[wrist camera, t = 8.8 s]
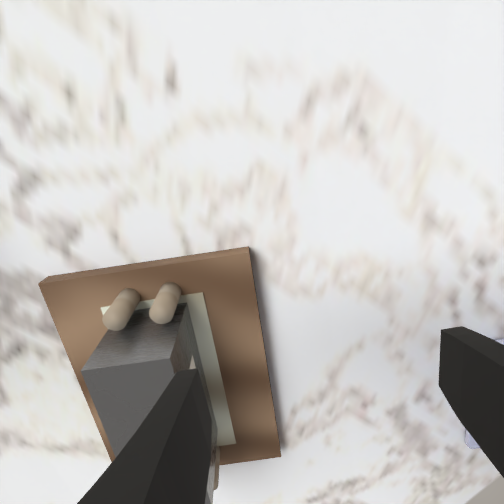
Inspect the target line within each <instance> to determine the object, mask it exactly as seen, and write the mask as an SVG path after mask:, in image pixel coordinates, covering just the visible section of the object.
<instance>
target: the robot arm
mask: <svg viewBox="0 0 504 504" xmlns="http://www.w3.org/2000/svg"><path fill="white" fill-rule="evenodd" d="M439 387H440V388H441V390H442V392H443V394H444V395H445V397H446V399H447V401H448V402H449V404H450V406H451V407H452V409H453V410H454V412H455V414H456V415H457V417H458V419H459V420H460V421H461V423H462V424H463V425H464V427H465V428H466V436H465V443H466V445H467V446H468V447H469V448H471V449H475V448H481V449H482V450H483V452H484V453H485V454H486V456H487V457H488V458H489V460H490V461H491V462H492V463H493V465H494V466H495V467H496V469H497V470H498V471H499V472H500V474H501V475H502V476H503V477H504V339H500V340H492V339H490V338H488V337H486V336H484V335H481V334H479V333H477V332H475V331H472V330H470V329H468V328H465V327H455V328H449V329H443V330H441V344H440V367H439ZM211 436H212V419H211V415H210V412H209V408H208V404H207V401H206V397H205V393H204V390H203V386H202V382H201V379H200V375H199V371H198V368H195V369H188V370H182V371H177V373H176V374H175V375H174V377H173V378H172V380H171V381H170V382H169V384H168V385H167V387H166V388H165V390H164V391H163V393H162V394H161V396H160V397H159V399H158V400H157V402H156V403H155V405H154V406H153V408H152V409H151V411H150V412H149V413H148V415H147V416H146V418H145V419H144V421H143V422H142V423H141V425H140V426H139V428H138V429H137V430H136V432H135V433H134V435H133V436H132V437H131V439H130V440H129V441H128V443H127V444H126V445H125V446H124V448H123V449H122V450H121V452H120V453H119V454H118V455H117V457H116V458H115V459H114V461H113V462H112V463H111V464H110V466H109V467H108V468H107V469H106V471H105V472H104V473H103V474H102V476H101V477H100V478H99V479H98V480H97V482H96V483H95V484H94V485H93V486H92V487H91V489H90V490H89V491H88V492H87V493H86V494H85V495H84V496H83V498H82V499H81V500H80V501H79V502H78V503H77V504H205V498H206V490H207V483H208V475H209V468H210V459H211Z"/></svg>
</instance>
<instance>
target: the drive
mask: <svg viewBox="0 0 504 504" xmlns="http://www.w3.org/2000/svg"><path fill="white" fill-rule="evenodd" d="M149 310H150V308H145V309H139V310H135V311H134V312H133V314H132V316H131V317H130V319H129V321H128V322H127V324H126V326H125V327H124V328H123V329H122V330H119V331H113V330H110V329H108V330H107V332H106V333H105V335H104V336H103V338H102V339H101V341H100V342H99V344H98V345H97V347H96V348H95V350H94V351H93V353H92V354H91V356H90V357H89V359H88V360H87V362H86V363H85V365H84V366H83V368H82V369H81V373H82V376H83V378H84V381H85V383H86V386H87V388H88V391H89V393H90V395H91V398H92V400H93V403H94V405H95V408H96V410H97V413H98V415H99V418H100V420H101V423H102V425H103V428H104V430H105V433H106V435H107V438H108V440H109V442H110V445H111V447H112V450H113V452H114V455H115V457H117V455H118V454H119V453H120V452H121V450H122V449H123V448H124V446H125V445H126V444H127V443H128V441H129V440H130V439H131V437H132V436H133V435H134V433H135V432H136V430H137V429H138V428H139V426H140V425H141V423H142V422H143V421H144V419H145V418H146V416H147V415H148V413H149V412H150V411H151V409H152V408H153V406H154V405H155V403H156V402H157V400H158V399H159V397H160V396H161V394H162V393H163V391H164V390H165V388H166V387H167V385H168V384H169V382H170V381H171V380H172V378H173V377H174V375H175V374H176V373H177V371H182V370H188V369H195V368H198V371H199V375H200V379H201V382H202V386H203V390H204V393H205V397H206V401H207V404H208V408H209V412H210V415H211V419H212V436H211V459H210V468H209V475H208V483H207V490H206V498H205V504H212V503H213V489H214V475H215V461H216V448H217V434H218V428H217V424H216V420H215V416H214V412H213V408H212V403H211V399H210V395H209V391H208V387H207V383H206V379H205V374H204V370H203V366H202V362H201V358H200V354H199V350H198V346H197V341H196V337H195V333H194V329H193V325H192V321H191V317H190V313H189V308H188V304H187V302H186V303H180V304H177V307H176V310H175V312H174V315H173V318H172V320H171V321H170V322H168V323H166V324H158V323H156V322H154V321H153V320H152V319H151V318H150V316H149Z"/></svg>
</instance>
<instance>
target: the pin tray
mask: <svg viewBox="0 0 504 504" xmlns="http://www.w3.org/2000/svg"><path fill="white" fill-rule="evenodd" d="M38 285H39V287H40V289H41V292H42V294H43V297H44V299H45V301H46V304H47V306H48V309H49V311H50V314H51V316H52V318H53V321H54V323H55V326H56V328H57V331H58V333H59V335H60V338H61V340H62V343H63V345H64V348H65V350H66V352H67V355H68V357H69V360H70V362H71V365H72V367H73V369H74V372H75V374H76V377H77V379H78V381H79V384H80V386H81V389H82V391H83V394H84V396H85V398H86V401H87V403H88V406H89V408H90V411H91V413H92V415H93V418H94V420H95V423H96V425H97V428H98V430H99V432H100V435H101V437H102V440H103V442H104V444H105V447H106V449H107V452H108V454H109V457H110V459H111V461H112V462H113V461H114V459H115V458H116V457H115V455H114V452H113V450H112V447H111V445H110V442H109V440H108V438H107V435H106V433H105V430H104V428H103V425H102V423H101V420H100V418H99V415H98V413H97V410H96V408H95V405H94V403H93V400H92V398H91V395H90V393H89V391H88V388H87V386H86V383H85V381H84V378H83V376H82V373H81V369H82V368H83V366H84V365H85V363H86V362H87V360H88V359H89V357H90V356H91V354H92V353H93V351H94V350H95V348H96V347H97V345H98V344H99V342H100V341H101V339H102V338H103V336H104V335H105V333H106V332H107V330H108V329H110V330H113V331H119V330H122V329H123V328H124V327H125V326H126V324H127V322H128V321H129V319H130V317H131V316H132V314H133V312H134V311H135V310H139V309H145V308H150V310H149V316H150V318H151V319H152V320H153V321H154V322H156V323H158V324H166V323H168V322H170V321H171V320H172V318H173V315H174V312H175V310H176V307H177V304H180V303H186V302H187V304H188V308H189V313H190V317H191V321H192V325H193V329H194V333H195V337H196V341H197V346H198V350H199V354H200V358H201V362H202V366H203V370H204V374H205V379H206V383H207V387H208V391H209V395H210V399H211V403H212V408H213V412H214V416H215V420H216V424H217V428H218V434H217V448H216V461H215V475H214V489H213V491H214V490H215V489H217V487H218V478H219V465H225V464H232V463H240V462H247V461H254V460H261V459H269V458H276V457H281V451H280V444H279V437H278V431H277V425H276V418H275V412H274V406H273V399H272V393H271V386H270V380H269V374H268V367H267V361H266V355H265V348H264V342H263V336H262V329H261V323H260V317H259V310H258V304H257V297H256V291H255V285H254V278H253V272H252V266H251V259H250V253H249V247H243V248H236V249H229V250H223V251H216V252H209V253H202V254H196V255H189V256H182V257H175V258H169V259H162V260H155V261H149V262H142V263H135V264H128V265H122V266H115V267H108V268H101V269H95V270H88V271H81V272H75V273H68V274H61V275H54V276H48V277H47V278H45V279H44V280H43V281H41V282H40V283H39V284H38Z"/></svg>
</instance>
